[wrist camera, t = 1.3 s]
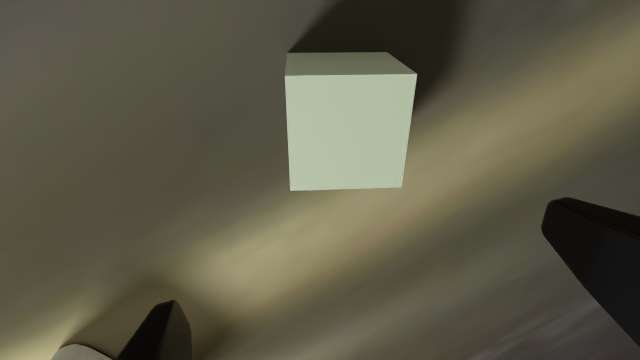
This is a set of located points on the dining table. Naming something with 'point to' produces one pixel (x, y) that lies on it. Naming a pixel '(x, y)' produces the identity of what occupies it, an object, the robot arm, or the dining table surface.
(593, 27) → the dining table surface
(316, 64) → the sage cube
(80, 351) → the photo printer
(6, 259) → the dining table surface
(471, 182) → the dining table surface
